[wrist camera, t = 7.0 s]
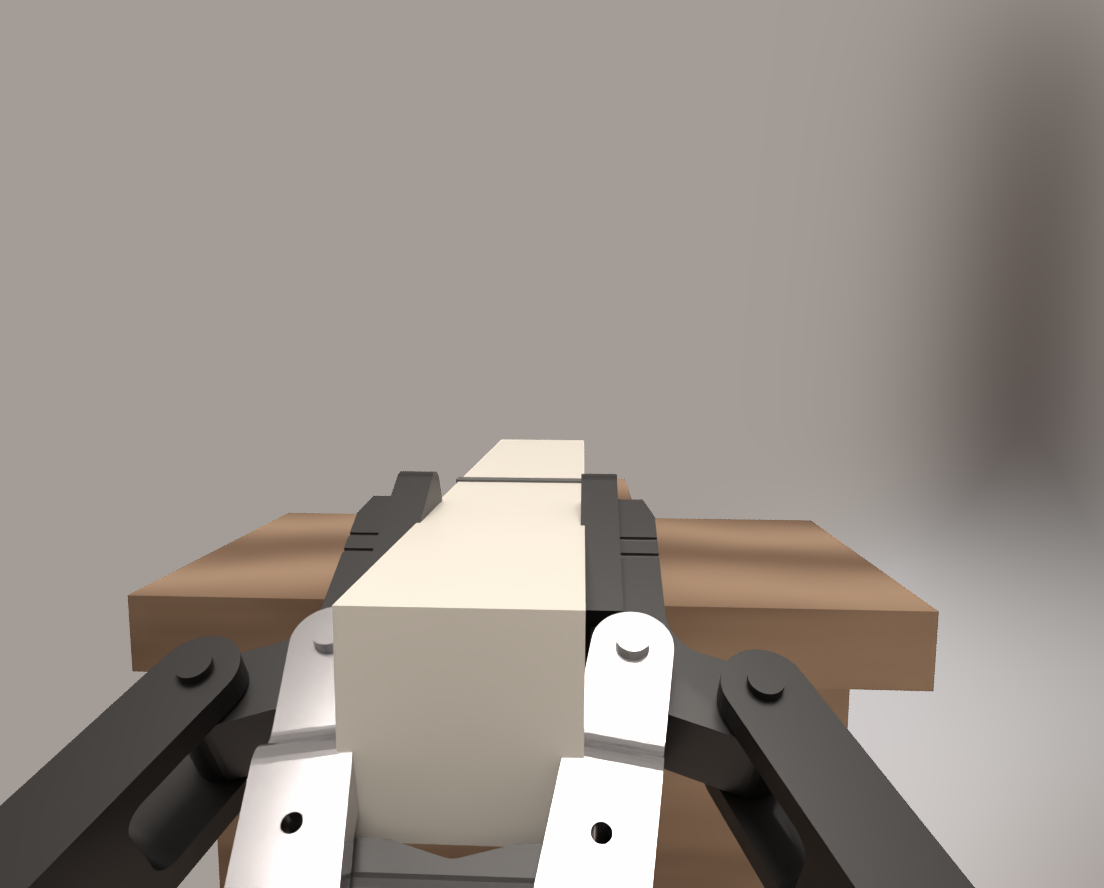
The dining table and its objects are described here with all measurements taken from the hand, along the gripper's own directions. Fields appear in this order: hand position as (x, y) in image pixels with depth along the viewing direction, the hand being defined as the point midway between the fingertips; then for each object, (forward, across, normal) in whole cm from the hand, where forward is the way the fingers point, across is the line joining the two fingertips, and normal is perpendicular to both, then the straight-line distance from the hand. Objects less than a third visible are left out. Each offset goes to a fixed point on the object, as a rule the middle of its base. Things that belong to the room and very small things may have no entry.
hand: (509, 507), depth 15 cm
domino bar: (+1, 0, +4) cm, 4 cm away
